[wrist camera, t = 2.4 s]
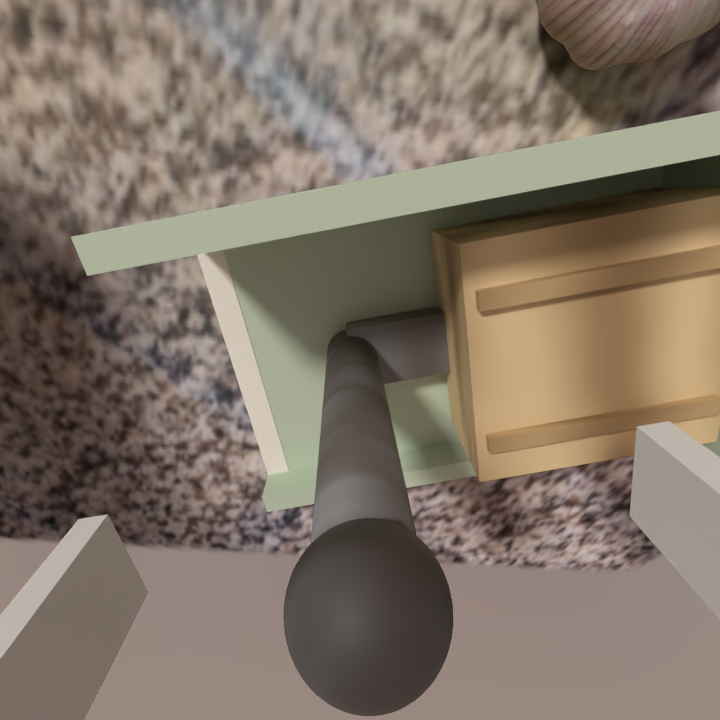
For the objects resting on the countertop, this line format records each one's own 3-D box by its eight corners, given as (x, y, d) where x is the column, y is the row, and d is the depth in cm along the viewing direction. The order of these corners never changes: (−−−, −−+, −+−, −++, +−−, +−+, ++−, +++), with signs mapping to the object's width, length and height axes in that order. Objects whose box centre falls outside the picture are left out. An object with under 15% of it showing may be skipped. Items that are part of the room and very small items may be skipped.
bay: (274, 481, 25) (239, 631, 16) (189, 215, 19) (70, 236, 11) (651, 415, 24) (816, 537, 16) (681, 119, 18) (965, 62, 10)
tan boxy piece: (340, 444, 23) (339, 865, 9) (296, 255, 19) (162, 458, 5) (638, 392, 22) (1154, 746, 8) (655, 187, 18) (1695, 185, 4)
